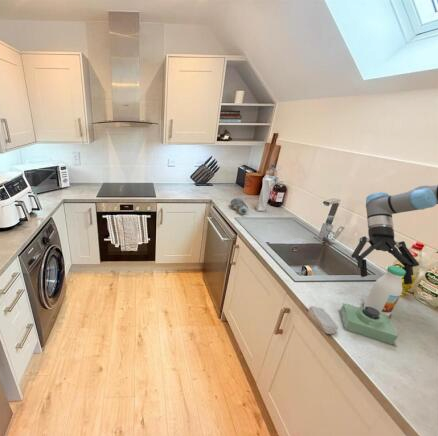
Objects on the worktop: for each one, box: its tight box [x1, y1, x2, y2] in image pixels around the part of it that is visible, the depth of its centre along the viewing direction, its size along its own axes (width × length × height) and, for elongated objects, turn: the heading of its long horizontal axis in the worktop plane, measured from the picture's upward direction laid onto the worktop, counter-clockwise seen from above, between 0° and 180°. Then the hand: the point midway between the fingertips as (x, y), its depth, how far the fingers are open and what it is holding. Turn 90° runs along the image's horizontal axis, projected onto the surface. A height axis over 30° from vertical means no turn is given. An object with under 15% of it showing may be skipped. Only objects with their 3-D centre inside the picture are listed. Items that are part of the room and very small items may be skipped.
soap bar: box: [307, 305, 339, 335], centre depth 87 cm, size 10×6×6 cm, turn 174°
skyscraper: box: [255, 174, 274, 213], centre depth 188 cm, size 8×8×28 cm
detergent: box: [230, 197, 249, 215], centre depth 191 cm, size 13×7×25 cm
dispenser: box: [339, 302, 399, 345], centre depth 85 cm, size 13×10×6 cm
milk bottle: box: [363, 265, 406, 317], centre depth 89 cm, size 8×8×20 cm
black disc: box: [363, 307, 380, 319], centre depth 84 cm, size 4×4×2 cm
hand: (385, 280), depth 90 cm, fingers open, 13 cm apart
